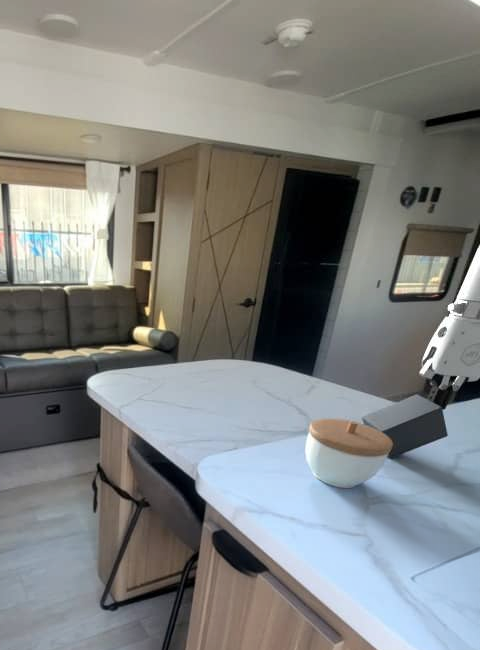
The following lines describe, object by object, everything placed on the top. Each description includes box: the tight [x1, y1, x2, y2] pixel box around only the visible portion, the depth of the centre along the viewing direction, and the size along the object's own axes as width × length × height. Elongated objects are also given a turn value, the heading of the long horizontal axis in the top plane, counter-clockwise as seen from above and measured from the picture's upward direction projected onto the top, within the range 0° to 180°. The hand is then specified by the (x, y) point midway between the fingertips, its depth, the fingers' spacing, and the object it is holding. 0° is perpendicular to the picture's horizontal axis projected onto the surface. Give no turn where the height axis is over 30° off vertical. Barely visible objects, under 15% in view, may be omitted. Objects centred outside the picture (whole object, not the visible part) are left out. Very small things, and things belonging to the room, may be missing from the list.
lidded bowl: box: [304, 417, 393, 489], centre depth 72 cm, size 13×13×11 cm
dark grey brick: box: [361, 393, 449, 460], centre depth 82 cm, size 11×7×7 cm, turn 87°
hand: (434, 406), depth 80 cm, fingers closed
